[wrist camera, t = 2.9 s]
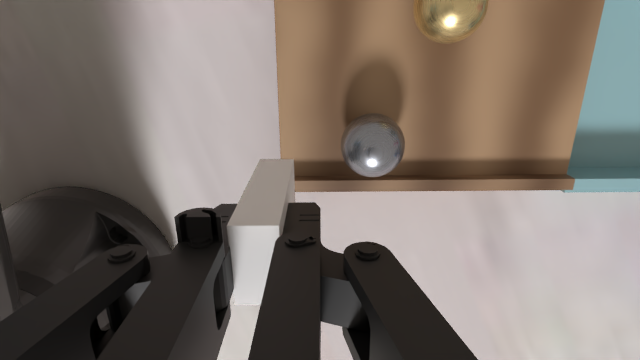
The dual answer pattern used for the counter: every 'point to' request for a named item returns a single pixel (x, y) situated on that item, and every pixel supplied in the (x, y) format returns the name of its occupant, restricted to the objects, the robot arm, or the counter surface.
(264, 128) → the counter surface
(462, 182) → the walnut runway
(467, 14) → the brass ball
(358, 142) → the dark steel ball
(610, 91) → the tray
